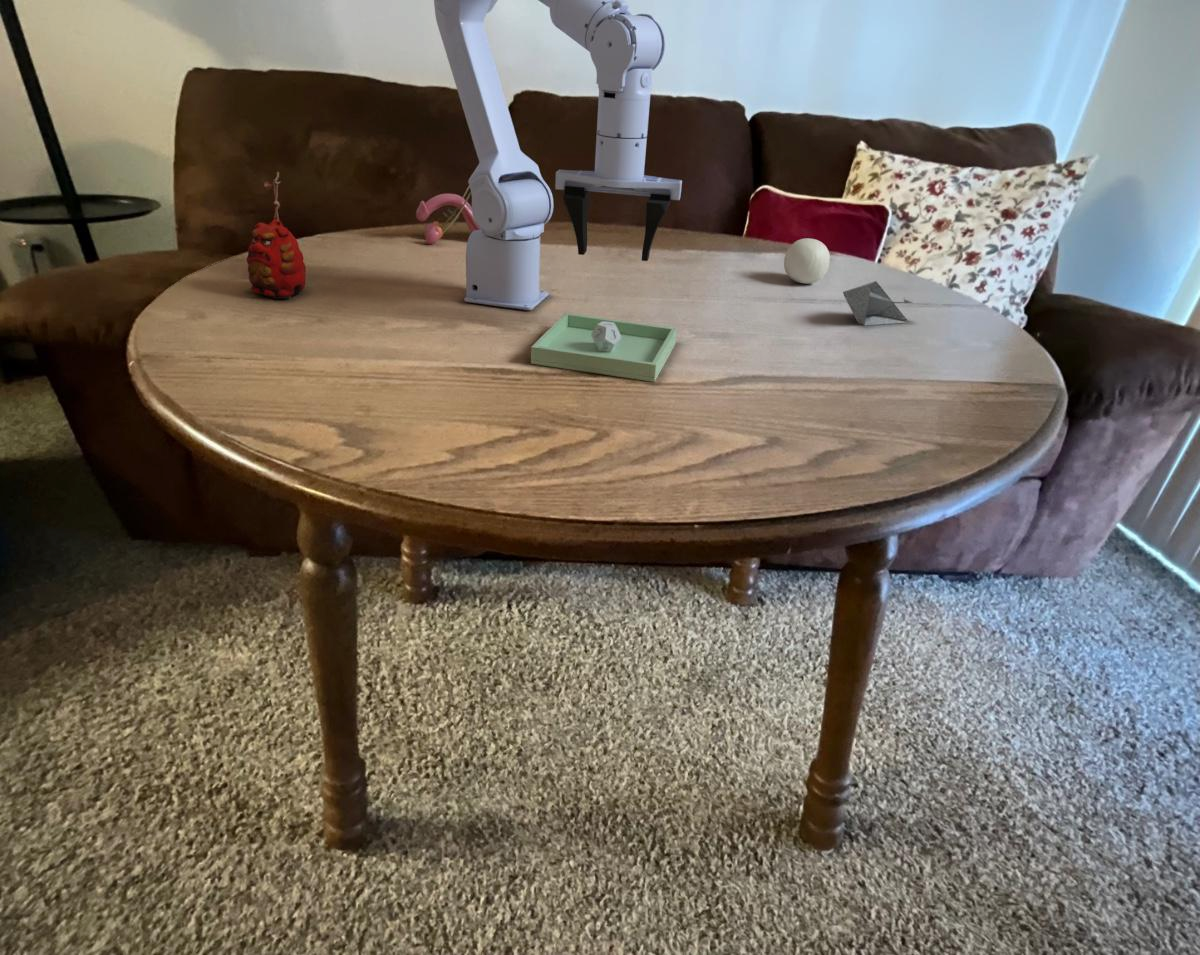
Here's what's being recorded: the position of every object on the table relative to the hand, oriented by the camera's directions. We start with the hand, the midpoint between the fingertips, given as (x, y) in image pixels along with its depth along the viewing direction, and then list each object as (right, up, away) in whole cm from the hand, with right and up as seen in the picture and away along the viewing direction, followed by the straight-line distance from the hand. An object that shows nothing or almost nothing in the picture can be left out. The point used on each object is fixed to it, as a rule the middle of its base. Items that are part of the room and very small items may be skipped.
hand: (613, 255), depth 102 cm
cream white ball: (+30, +4, +30) cm, 43 cm away
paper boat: (+35, -6, +13) cm, 38 cm away
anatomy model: (-24, +13, +41) cm, 49 cm away
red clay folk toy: (-44, -2, +10) cm, 45 cm away
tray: (-1, -12, -3) cm, 12 cm away
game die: (-1, -12, -3) cm, 12 cm away
